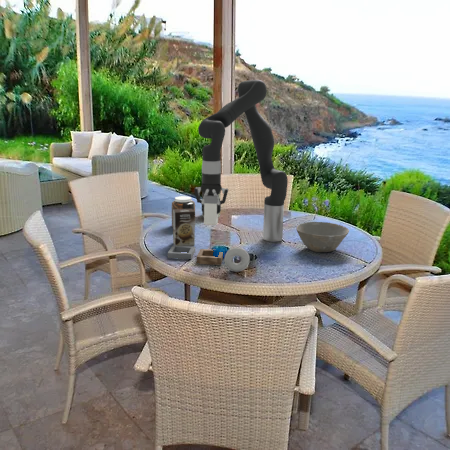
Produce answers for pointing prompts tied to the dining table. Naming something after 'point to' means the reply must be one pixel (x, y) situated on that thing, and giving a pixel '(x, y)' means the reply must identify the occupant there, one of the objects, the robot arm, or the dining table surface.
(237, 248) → the donut
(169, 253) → the grey square frame
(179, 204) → the jar
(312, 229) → the ceramic bowl
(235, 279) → the dining table surface
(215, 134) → the robot arm
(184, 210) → the coffee box
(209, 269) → the dining table surface
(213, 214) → the plug block
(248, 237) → the dining table surface
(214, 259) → the walnut socket
